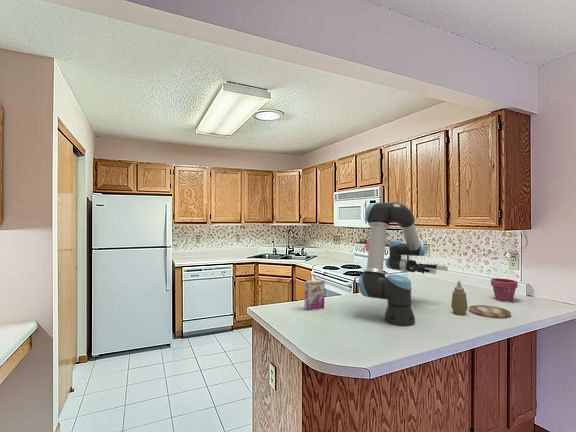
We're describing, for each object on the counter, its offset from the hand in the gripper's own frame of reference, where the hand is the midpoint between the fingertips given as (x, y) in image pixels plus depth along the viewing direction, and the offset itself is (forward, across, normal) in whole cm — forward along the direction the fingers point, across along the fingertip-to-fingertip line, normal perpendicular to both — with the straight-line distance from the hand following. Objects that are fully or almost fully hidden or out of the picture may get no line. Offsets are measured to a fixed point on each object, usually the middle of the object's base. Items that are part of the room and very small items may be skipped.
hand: (441, 270), depth 185 cm
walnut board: (+20, -14, -23) cm, 33 cm away
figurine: (-81, -40, -24) cm, 94 cm away
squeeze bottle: (+10, 0, -23) cm, 25 cm away
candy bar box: (-48, +57, -23) cm, 78 cm away
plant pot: (+15, -51, -24) cm, 58 cm away
